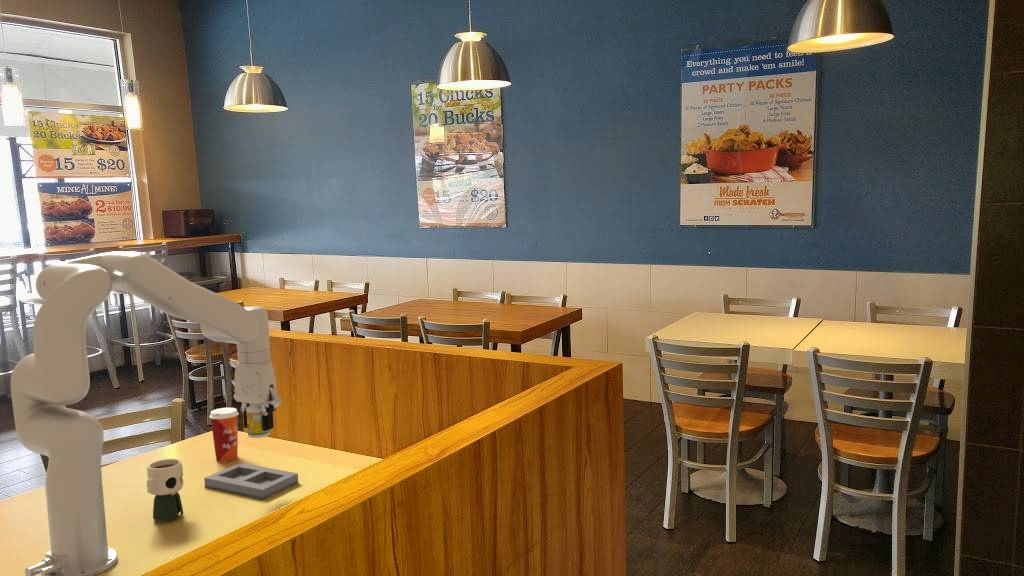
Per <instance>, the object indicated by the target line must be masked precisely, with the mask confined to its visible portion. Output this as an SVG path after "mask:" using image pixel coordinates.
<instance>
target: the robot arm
mask: <svg viewBox="0 0 1024 576" xmlns="http://www.w3.org/2000/svg"><path fill="white" fill-rule="evenodd" d="M35 289H36V292H37V295H39V297H40V298H41V299H42V300H43V303H42V305H41V306H40V308H39V310H38V311H37V313H36V315H35V319H34V322H33V326H32V329H33V330H32V340H33V353H30V354H27V355H26V356H23V357H22V358H21V359H20V360H19V361H18V362H17V364H16V365H15V366H14V368H13V370H12V373H11V376H10V392H11V394H10V395H11V402H12V403H11V404H12V410H13V411H12V412H13V417H14V418H13V419H14V426H15V432H16V436H17V438H18V441H19V442H20V444H21V445H22V446H23V447H24V448H26V449H27V450H28V451H29V452H30V451H31V452H32V453H34V454H39V455H42V456H46V457H48V464H47V465H48V466H47V469H46V474H45V478H44V479H45V480H44V490H45V491H44V492H45V498H46V507H47V509H46V510H47V519H48V529H49V541H50V551H47V552H45V558H43V559H42V560H41V562H39V563H38V562H37V563H35V564H33V565H30V566H27V567H26V568H25V570H24V574H25V576H38V575H41V576H97V575H100V574H101V573H103V572H105V571H107V570H109V569H111V567H113V566H114V565H115V564H116V563H117V561H118V552H117V551H116V550H115V549H113V548H111V547H108V545H109V544H108V536H107V532H108V531H107V522H106V510H105V499H104V487H103V476H102V474H103V473H102V456H103V448H104V441H105V439H104V436H105V435H104V429H103V427H102V424H101V422H100V421H99V420H98V418H96V417H95V416H93V415H92V414H90V413H88V412H86V411H82V410H79V409H73V408H70V407H69V408H68V407H66V406H69V405H73V404H76V403H79V402H80V401H82V400H84V398H85V397H86V396H87V394H88V392H89V391H90V390H89V389H90V387H91V383H90V382H91V379H90V378H91V377H90V367H89V361H88V351H87V343H86V342H87V341H86V340H87V339H86V333H87V332H86V329H87V325H88V322H89V319H90V318H91V316H92V314H93V313H95V311H96V310H97V309H98V308H99V307H100V306H101V305H102V304H103V303H104V302H105V301H107V299H108V297H109V296H110V295H111V293H112V292H127V293H128V294H131V295H132V296H135V298H138V299H140V300H141V301H144V302H145V303H147V304H148V305H151V306H153V307H154V308H156V309H157V310H159V311H161V312H163V313H165V314H166V315H168V316H171V317H174V318H178V319H180V320H183V321H189V322H192V323H198V324H200V331H201V333H202V335H203V336H204V337H205V338H206V339H208V340H211V341H213V342H220V343H232V344H236V347H237V352H236V355H237V360H238V361H237V362H236V364H235V367H234V368H235V371H234V383H233V384H234V394H233V399H234V400H235V401H236V402H237V404H238V406H239V407H240V412H241V413H242V414H243V415H242V417H243V428H244V429H247V414H246V409H247V407H248V406H250V404H256V405H261V408H262V411H263V414H264V415H262V430H263V431H267V430H270V431H271V430H272V429H273V428H274V427H275V426H274V413H275V411H276V410H277V408H278V407H279V406H280V404H282V399H281V398H280V396H279V395H278V391H277V380H276V374H275V370H274V365H273V362H272V361H271V360H272V359H271V345H270V342H271V341H270V329H269V316H268V315H269V313H268V311H267V309H266V307H264V306H261V305H260V306H259V305H250V306H242V305H241V304H239V303H237V302H236V301H234V300H232V299H231V298H229V297H226V296H223V295H222V294H219V293H216V292H214V291H213V290H210V289H208V288H206V287H204V286H202V285H201V286H200V285H199V284H196V283H193V282H192V281H190V280H188V279H186V278H185V277H184V276H182V275H180V274H179V273H177V272H175V271H174V270H172V269H171V268H169V267H168V266H166V265H164V264H163V263H161V262H160V261H158V260H156V259H155V258H154V257H152V256H149V254H145V253H142V252H140V251H107V252H102V253H99V254H98V253H97V254H94V255H89V256H85V257H81V258H80V257H79V258H76V259H70V260H64V261H59V262H56V263H52V264H50V265H48V266H46V267H45V268H43V269H42V270H40V272H39V274H38V275H37V278H36V280H35ZM266 404H267V405H268V408H267V407H266Z"/></svg>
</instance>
